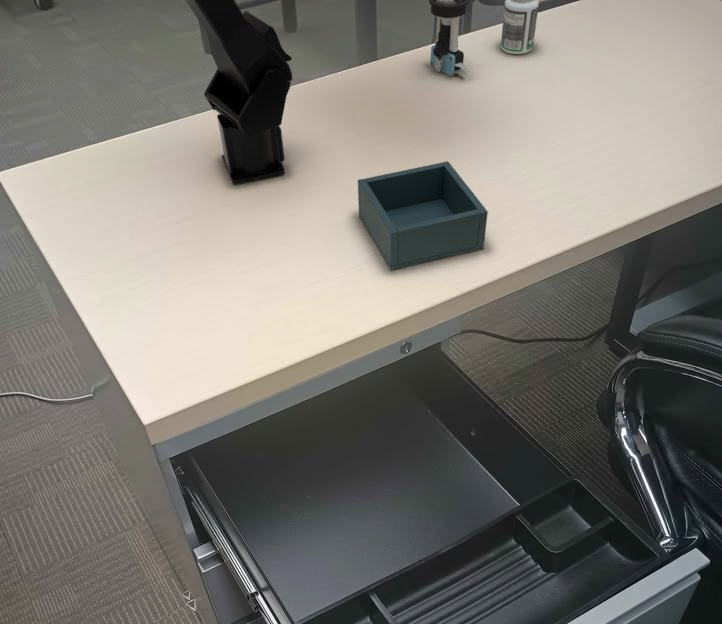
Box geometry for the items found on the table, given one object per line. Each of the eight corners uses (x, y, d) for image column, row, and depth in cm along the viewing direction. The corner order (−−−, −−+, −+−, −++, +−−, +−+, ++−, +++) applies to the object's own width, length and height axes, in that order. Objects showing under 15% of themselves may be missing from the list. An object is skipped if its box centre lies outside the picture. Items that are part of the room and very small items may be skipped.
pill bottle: (525, 39, 114) (533, -26, 107) (537, 52, 111) (547, -13, 104) (495, 43, 113) (501, -21, 106) (507, 57, 110) (514, -9, 103)
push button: (478, 73, 107) (485, -6, 99) (448, 84, 105) (453, 4, 97) (447, 57, 111) (452, -21, 103) (418, 68, 109) (421, -11, 101)
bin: (390, 270, 80) (390, 233, 76) (358, 216, 86) (357, 179, 83) (483, 249, 82) (488, 211, 78) (445, 197, 88) (448, 160, 85)
